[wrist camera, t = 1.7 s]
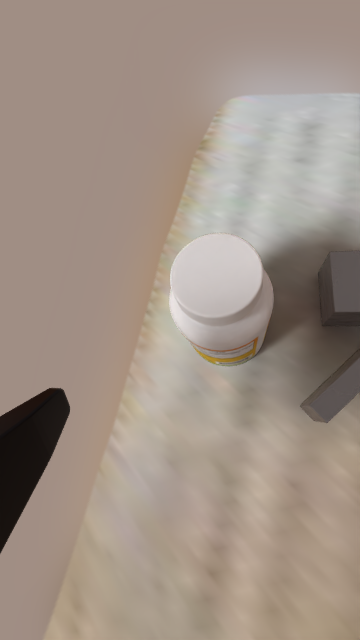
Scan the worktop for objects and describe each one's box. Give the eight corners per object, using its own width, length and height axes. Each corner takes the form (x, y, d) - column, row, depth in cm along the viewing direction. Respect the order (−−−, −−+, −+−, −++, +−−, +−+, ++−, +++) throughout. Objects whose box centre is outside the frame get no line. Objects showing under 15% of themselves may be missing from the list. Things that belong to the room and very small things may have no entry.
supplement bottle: (219, 284, 22) (203, 199, 13) (280, 322, 21) (309, 254, 11) (176, 338, 22) (129, 288, 13) (235, 383, 20) (229, 361, 11)
